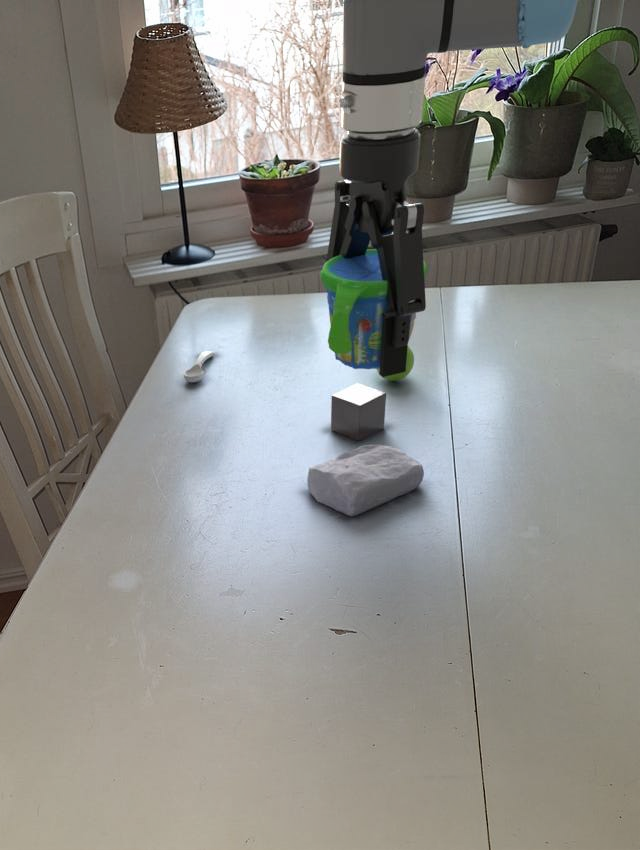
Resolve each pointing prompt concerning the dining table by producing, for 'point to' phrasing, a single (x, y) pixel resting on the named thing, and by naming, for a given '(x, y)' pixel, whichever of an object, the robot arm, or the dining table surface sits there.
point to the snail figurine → (408, 362)
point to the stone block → (364, 478)
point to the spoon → (197, 367)
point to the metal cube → (358, 411)
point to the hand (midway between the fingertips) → (368, 356)
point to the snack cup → (356, 308)
